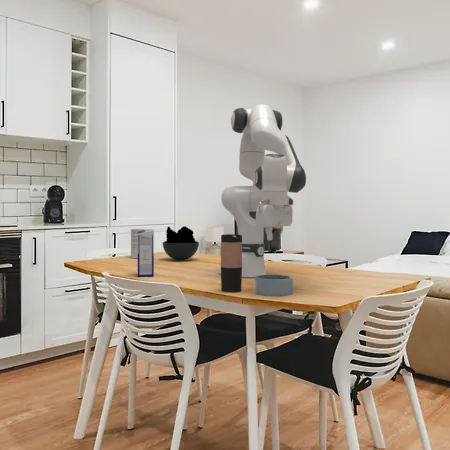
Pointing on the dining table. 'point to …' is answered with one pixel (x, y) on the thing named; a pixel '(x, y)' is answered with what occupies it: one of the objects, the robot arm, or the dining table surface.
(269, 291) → the cup
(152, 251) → the milk carton
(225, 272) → the travel mug
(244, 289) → the dining table surface
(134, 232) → the supplement box
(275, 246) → the battery cell
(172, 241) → the coal bowl
